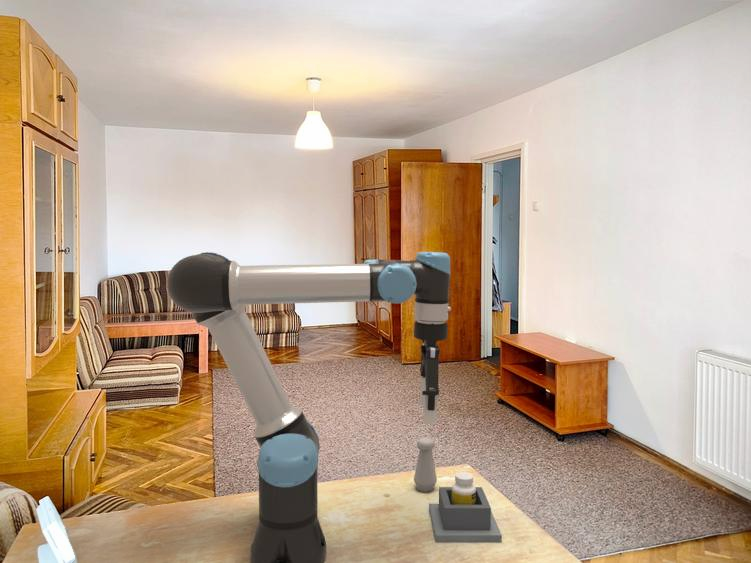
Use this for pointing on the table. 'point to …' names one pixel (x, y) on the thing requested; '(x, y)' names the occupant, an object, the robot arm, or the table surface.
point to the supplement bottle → (463, 490)
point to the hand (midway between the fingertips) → (427, 413)
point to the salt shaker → (425, 466)
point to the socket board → (463, 519)
